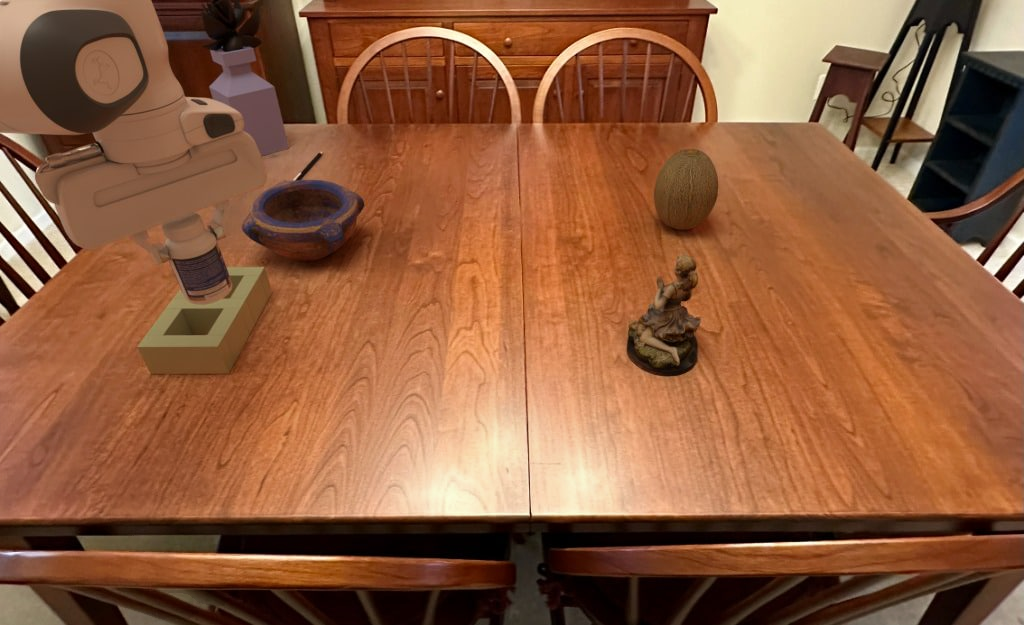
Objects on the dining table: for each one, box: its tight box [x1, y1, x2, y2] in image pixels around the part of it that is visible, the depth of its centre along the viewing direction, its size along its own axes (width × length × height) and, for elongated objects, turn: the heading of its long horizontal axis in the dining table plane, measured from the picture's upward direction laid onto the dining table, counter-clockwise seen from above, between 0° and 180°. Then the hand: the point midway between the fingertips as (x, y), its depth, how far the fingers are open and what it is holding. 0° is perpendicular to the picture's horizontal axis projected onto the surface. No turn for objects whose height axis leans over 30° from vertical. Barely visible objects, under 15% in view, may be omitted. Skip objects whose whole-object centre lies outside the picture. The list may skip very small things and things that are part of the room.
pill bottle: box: [161, 212, 232, 305], centre depth 69 cm, size 5×5×10 cm
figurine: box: [626, 253, 702, 377], centre depth 83 cm, size 12×11×15 cm
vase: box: [200, 0, 290, 157], centre depth 135 cm, size 14×12×35 cm
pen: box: [292, 151, 324, 181], centre depth 135 cm, size 1×19×1 cm, turn 174°
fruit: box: [653, 148, 719, 231], centre depth 110 cm, size 11×11×15 cm
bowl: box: [241, 179, 366, 262], centre depth 106 cm, size 18×18×10 cm
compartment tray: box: [136, 266, 273, 375], centre depth 89 cm, size 19×11×5 cm, turn 0°
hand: (192, 248), depth 68 cm, fingers closed on pill bottle, 5 cm apart
